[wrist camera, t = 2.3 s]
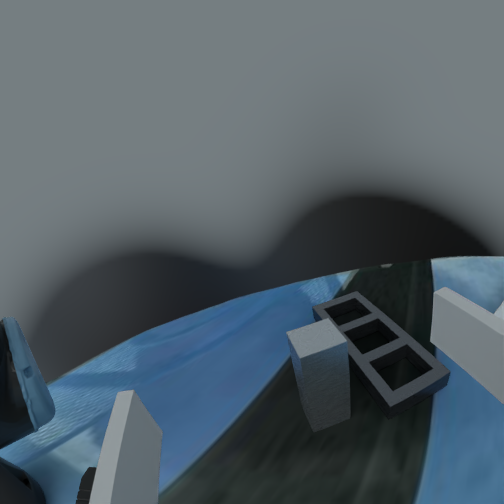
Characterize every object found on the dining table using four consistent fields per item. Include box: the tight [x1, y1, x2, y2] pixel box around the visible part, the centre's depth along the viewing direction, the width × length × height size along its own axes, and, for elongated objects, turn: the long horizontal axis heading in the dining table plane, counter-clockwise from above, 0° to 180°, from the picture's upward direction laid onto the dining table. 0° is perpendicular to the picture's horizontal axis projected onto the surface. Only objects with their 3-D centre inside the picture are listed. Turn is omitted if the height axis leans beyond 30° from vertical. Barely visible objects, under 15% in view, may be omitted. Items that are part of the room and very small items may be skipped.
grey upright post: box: [286, 318, 351, 432], centre depth 28 cm, size 5×5×12 cm
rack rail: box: [312, 291, 450, 420], centre depth 38 cm, size 9×26×2 cm, turn 10°
